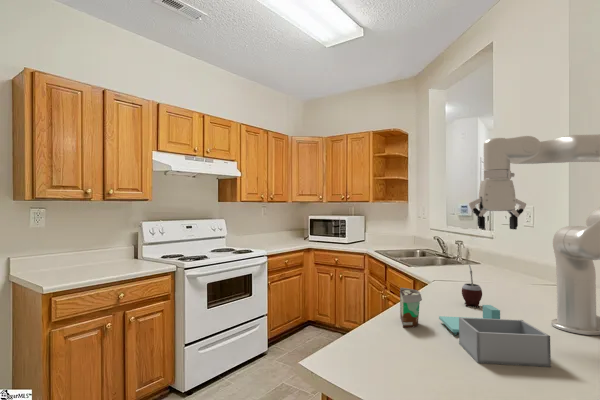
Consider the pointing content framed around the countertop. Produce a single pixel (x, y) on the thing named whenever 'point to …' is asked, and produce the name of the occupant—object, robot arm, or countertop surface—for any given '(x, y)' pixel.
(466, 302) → the mate gourd
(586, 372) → the countertop surface
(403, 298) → the food container
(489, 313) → the lid
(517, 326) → the tub
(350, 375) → the countertop surface
